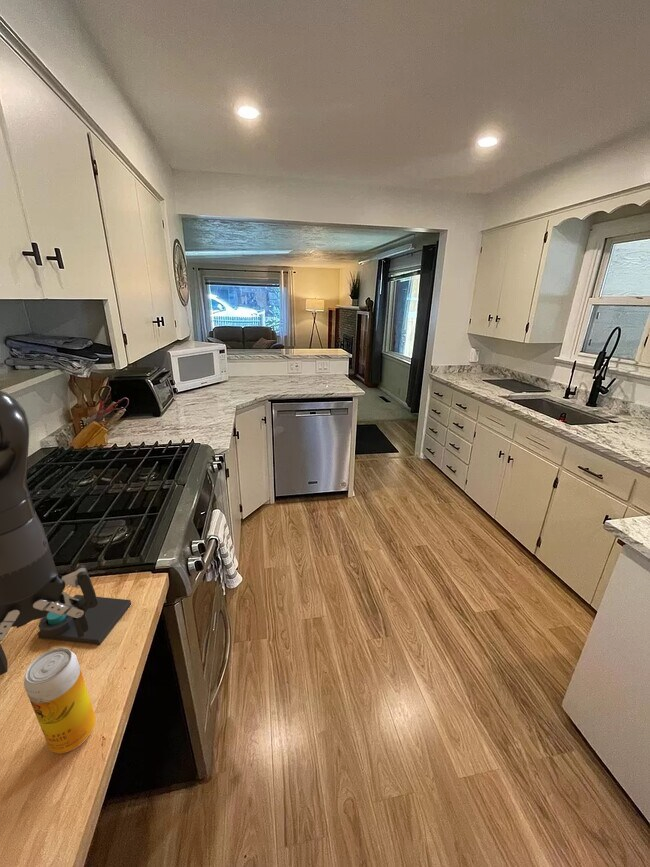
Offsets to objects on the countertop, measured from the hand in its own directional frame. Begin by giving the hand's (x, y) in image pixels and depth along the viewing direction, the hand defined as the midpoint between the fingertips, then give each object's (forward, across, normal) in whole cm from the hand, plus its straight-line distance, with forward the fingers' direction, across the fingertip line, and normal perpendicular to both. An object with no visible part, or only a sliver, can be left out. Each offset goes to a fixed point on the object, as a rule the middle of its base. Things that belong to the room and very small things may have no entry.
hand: (44, 650), depth 49 cm
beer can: (+18, 0, 0) cm, 18 cm away
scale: (+18, -5, -23) cm, 29 cm away
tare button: (+15, 0, -24) cm, 28 cm away
